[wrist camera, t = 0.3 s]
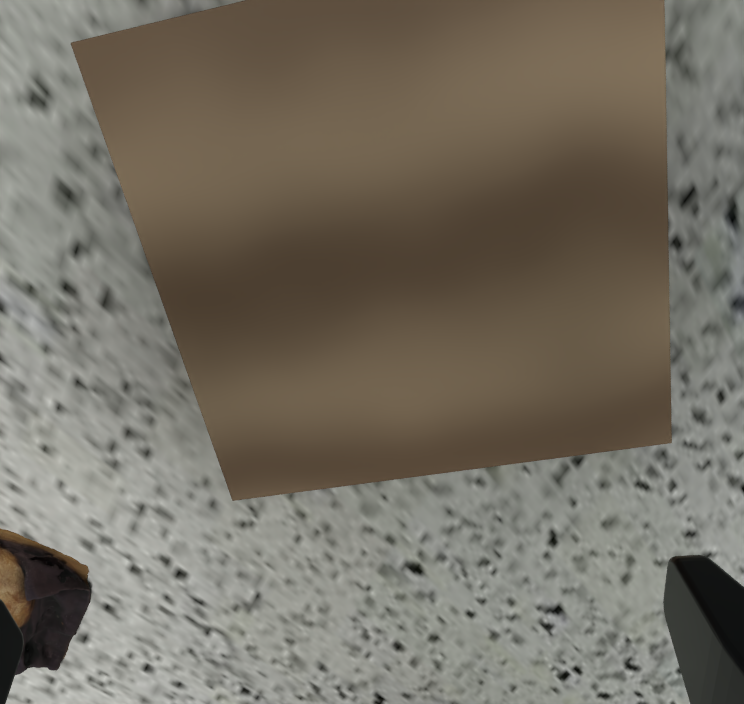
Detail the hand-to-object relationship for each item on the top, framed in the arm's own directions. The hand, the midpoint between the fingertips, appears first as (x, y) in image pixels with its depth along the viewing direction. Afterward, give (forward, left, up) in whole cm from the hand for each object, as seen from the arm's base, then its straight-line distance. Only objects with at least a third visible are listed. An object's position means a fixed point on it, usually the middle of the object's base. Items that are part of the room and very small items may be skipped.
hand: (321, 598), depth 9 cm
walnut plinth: (+1, -1, -14) cm, 14 cm away
